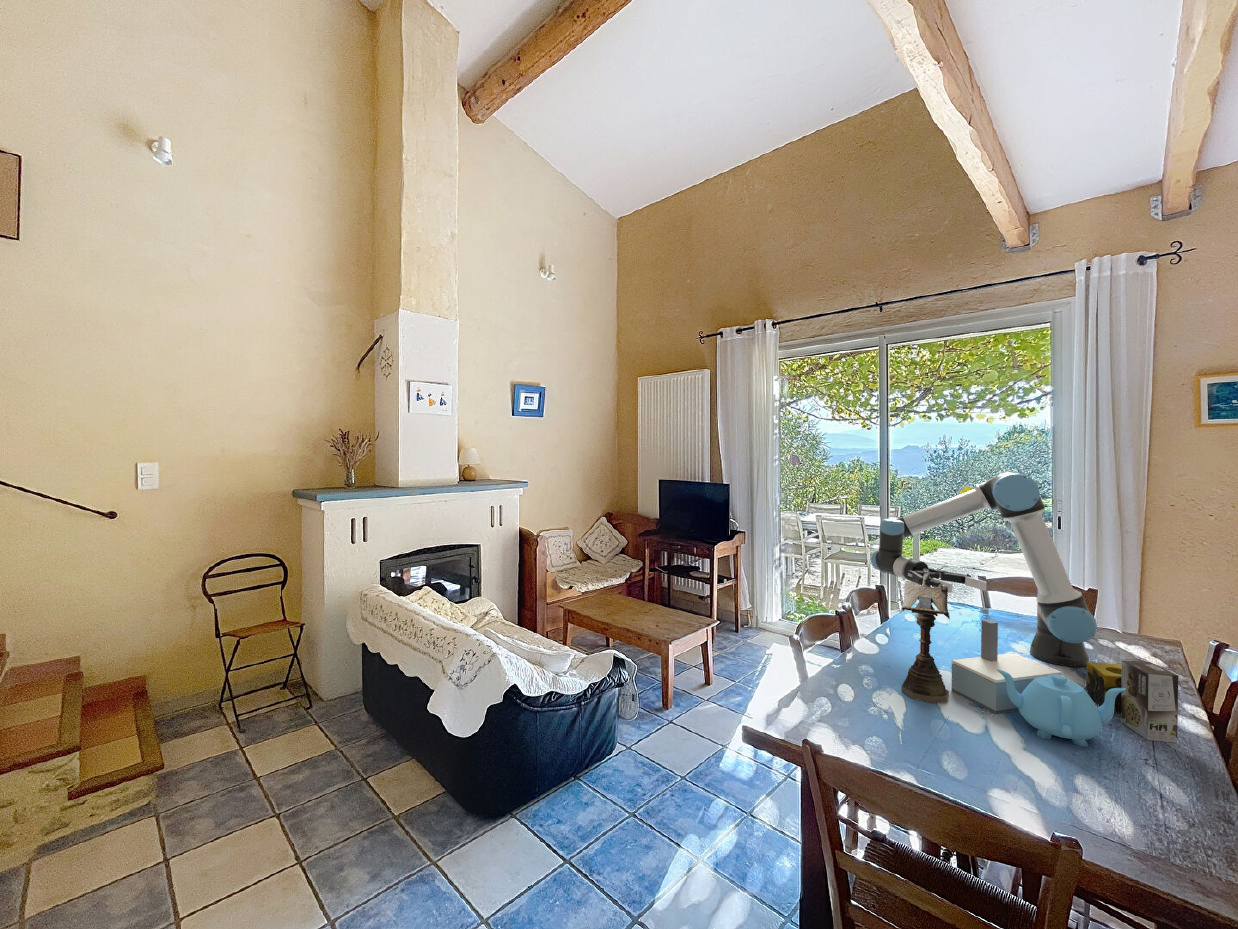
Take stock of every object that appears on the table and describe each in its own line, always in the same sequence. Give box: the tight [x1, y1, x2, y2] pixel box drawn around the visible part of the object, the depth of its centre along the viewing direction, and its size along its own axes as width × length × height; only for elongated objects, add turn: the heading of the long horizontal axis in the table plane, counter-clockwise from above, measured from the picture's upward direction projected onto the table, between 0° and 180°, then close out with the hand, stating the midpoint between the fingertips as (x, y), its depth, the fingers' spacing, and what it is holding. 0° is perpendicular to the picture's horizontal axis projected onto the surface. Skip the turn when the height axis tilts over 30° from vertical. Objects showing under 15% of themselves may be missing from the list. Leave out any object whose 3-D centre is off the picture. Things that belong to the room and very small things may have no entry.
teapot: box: [996, 669, 1126, 747], centre depth 130 cm, size 16×20×14 cm
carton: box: [951, 662, 1035, 715], centre depth 149 cm, size 22×14×8 cm, turn 103°
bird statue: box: [899, 572, 956, 704], centre depth 149 cm, size 17×13×35 cm
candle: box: [1085, 661, 1122, 714], centre depth 144 cm, size 10×10×10 cm
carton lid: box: [951, 619, 1063, 683], centre depth 149 cm, size 22×14×12 cm, turn 103°
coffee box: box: [1120, 660, 1179, 744], centre depth 130 cm, size 9×6×16 cm
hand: (968, 587), depth 161 cm, fingers open, 13 cm apart
